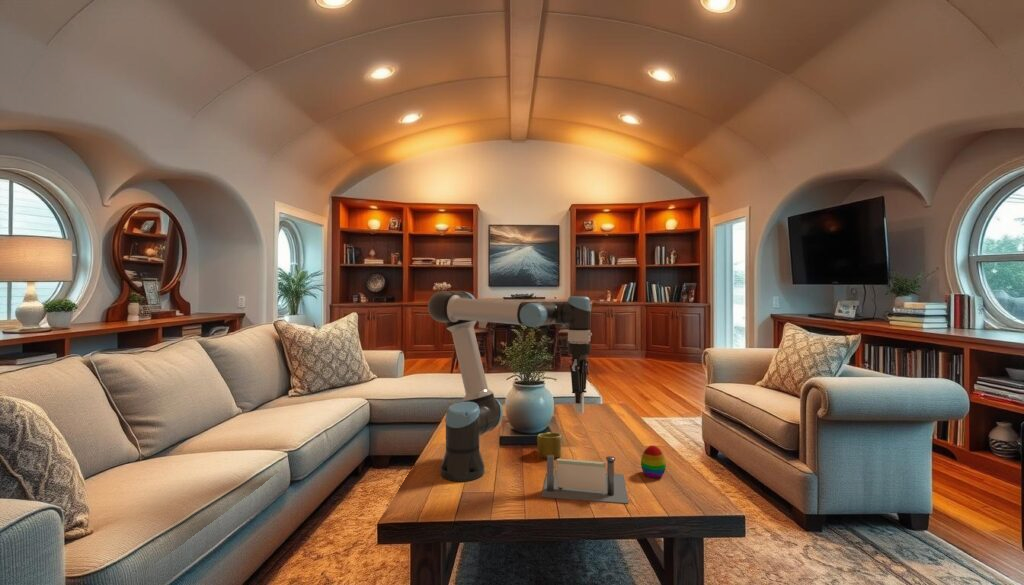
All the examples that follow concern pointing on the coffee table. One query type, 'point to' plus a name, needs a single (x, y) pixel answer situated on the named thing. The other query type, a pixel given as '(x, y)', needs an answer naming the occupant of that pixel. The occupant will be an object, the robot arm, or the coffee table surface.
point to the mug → (549, 444)
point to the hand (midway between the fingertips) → (579, 412)
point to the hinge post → (610, 475)
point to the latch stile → (550, 472)
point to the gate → (581, 475)
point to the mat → (590, 492)
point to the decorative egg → (653, 462)
